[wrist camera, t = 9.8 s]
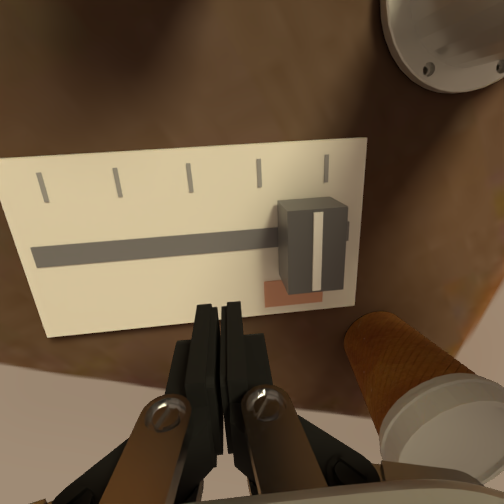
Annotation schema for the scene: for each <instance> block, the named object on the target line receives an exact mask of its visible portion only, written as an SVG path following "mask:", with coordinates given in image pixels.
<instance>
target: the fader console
mask: <svg viewBox="0 0 504 504" xmlns="http://www.w3.org/2000/svg"><path fill="white" fill-rule="evenodd" d="M366 149H367V138H365V137H355V138H338V139H321V140H304V141H287V142H270V143H253V144H236V145H218V146H201V147H184V148H167V149H150V150H133V151H116V152H99V153H81V154H64V155H47V156H30V157H13V158H0V201H1V204H2V207H3V210H4V213H5V216H6V218H7V221H8V224H9V227H10V230H11V233H12V236H13V239H14V242H15V245H16V248H17V251H18V253H19V256H20V259H21V262H22V265H23V268H24V271H25V274H26V277H27V280H28V283H29V286H30V288H31V291H32V294H33V297H34V300H35V303H36V306H37V309H38V312H39V315H40V318H41V321H42V323H43V326H44V329H45V332H46V335H47V338H49V337H58V336H68V335H77V334H87V333H97V332H106V331H116V330H125V329H135V328H145V327H154V326H164V325H173V324H183V323H192V322H194V320H195V314H196V308H197V305H199V304H212V307H217V309H218V318H219V320H221V307H222V306H227V302H235V301H241V311H242V317H250V316H259V315H269V314H279V313H288V312H298V311H307V310H317V309H327V308H336V307H346V306H355V294H356V281H357V268H358V254H359V241H360V228H361V215H362V202H363V189H364V175H365V162H366ZM317 197H332V198H334V199H335V200H337V201H339V202H341V203H343V204H344V205H346V206H348V221H347V237H346V254H345V271H344V288H343V289H342V290H332V291H322V292H312V293H302V294H292V295H288V293H287V291H286V289H285V286H284V284H283V282H282V280H281V278H280V275H279V255H278V211H277V200H290V199H303V198H317Z"/></svg>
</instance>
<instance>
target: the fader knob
mask: <svg viewBox="0 0 504 504" xmlns="http://www.w3.org/2000/svg"><path fill="white" fill-rule="evenodd" d="M277 211H278V255H279V275H280V278H281V280H282V282H283V284H284V286H285V289H286V291H287V293H288V295H292V294H302V293H312V292H322V291H332V290H342V289H343V288H344V271H345V254H346V237H347V221H348V206H346V205H344V204H343V203H341V202H339V201H337V200H335V199H334V198H332V197H317V198H303V199H290V200H277Z"/></svg>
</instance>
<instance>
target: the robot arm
mask: <svg viewBox="0 0 504 504" xmlns="http://www.w3.org/2000/svg"><path fill="white" fill-rule="evenodd" d="M380 10H381V22H382V27H383V32H384V37H385V40H386V43H387V45H388V48H389V51H390V53H391V55H392V57H393V59H394V60H395V62H396V63H397V65H398V66H399V68H400V70H401V71H402V72H403V73H404V74H405V75H406V76H407V77H408V78H409V79H410V80H411V81H413V82H415V83H416V84H418V85H420V86H421V87H423V88H425V89H428V90H431V91H434V92H437V93H449V94H455V93H462V92H469V91H473V90H477V89H480V88H484V87H486V86H488V85H490V84H493V83H495V82H497V81H499V80H501V79H502V78H503V77H504V0H380ZM423 70H424V73H423ZM223 413H224V422H225V430H226V439H227V448H228V454H231V453H233V455H234V465H235V467H236V468H238V469H239V470H240V471H241V472H242V473H243V474H244V475H246V476H247V481H248V487H249V492H250V496H244V497H235V498H227V499H218V500H209V501H201V498H202V493H203V484H204V481H203V479H204V478H205V477H206V476H207V474H208V473H209V472H210V471H211V470H212V469H213V468H214V467H217V466H216V465H217V455H223ZM30 504H504V492H502V491H498V490H495V489H491V488H488V487H485V486H484V485H483V484H481V483H480V482H479V481H478V480H477V479H476V478H474V477H472V476H471V475H469V474H467V473H465V472H462V471H458V470H455V469H447V468H439V467H431V466H423V465H415V464H407V463H399V462H391V461H383V460H382V461H381V464H372V463H371V462H370V461H369V460H367V459H366V458H365V457H364V456H362V455H361V454H359V453H358V452H356V451H355V450H353V449H351V448H350V447H348V446H347V445H345V444H344V443H342V442H340V441H339V440H337V439H336V438H334V437H332V436H331V435H329V434H328V433H326V432H324V431H323V430H321V429H320V428H318V427H316V426H315V425H313V424H312V423H310V422H309V421H307V420H305V419H304V418H302V417H301V416H299V415H297V413H296V411H295V408H294V406H293V404H292V401H291V399H290V397H289V396H288V394H287V393H286V392H285V391H284V390H283V389H281V388H279V387H277V386H275V385H273V383H272V377H271V372H270V366H269V361H268V355H267V350H266V344H265V338H264V334H263V333H260V334H248V335H243V323H242V311H241V301H235V302H227V306H222V307H221V336H220V327H219V318H218V309H217V307H212V304H199V305H197V308H196V314H195V320H194V327H193V333H192V339H191V340H181V341H177V343H176V346H175V351H174V355H173V360H172V364H171V369H170V373H169V378H168V382H167V386H166V391H165V395H162V396H159V397H157V398H155V399H154V400H152V401H150V402H149V403H148V404H147V405H146V406H145V407H144V409H143V410H142V412H141V414H140V416H139V418H138V420H137V422H136V424H135V426H134V429H133V431H132V433H131V435H130V437H129V438H128V439H127V440H125V441H124V442H123V443H122V444H121V445H119V446H118V447H117V448H115V449H114V450H113V451H112V452H110V453H109V454H108V455H107V456H105V457H104V458H103V459H102V460H100V461H99V462H98V463H97V464H95V465H94V466H93V467H91V468H90V469H89V470H88V471H86V472H85V473H84V474H83V475H82V476H80V477H79V478H78V479H76V480H75V481H74V482H73V483H71V484H70V485H69V486H68V487H66V488H65V489H64V490H63V491H62V492H61V493H60V494H59V495H58V496H57V497H56V498H55V499H54V501H51V502H48V503H47V502H46V499H43V500H39V501H36V502H33V503H30Z"/></svg>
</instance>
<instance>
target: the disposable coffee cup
mask: <svg viewBox="0 0 504 504" xmlns="http://www.w3.org/2000/svg"><path fill="white" fill-rule="evenodd" d="M344 349H345V352H346V354H347V356H348V359H349V361H350V364H351V367H352V369H353V372H354V374H355V377H356V380H357V382H358V384H359V387H360V389H361V392H362V394H363V397H364V400H365V402H366V405H367V407H368V410H369V413H370V415H371V418H372V420H373V422H374V425H375V428H376V430H377V433H378V435H379V441H380V452H381V456H382V459H383V461H391V462H399V463H407V464H415V465H423V466H431V467H439V468H447V469H455V470H458V471H462V472H465V473H467V474H469V475H471V476H472V477H474V478H476V479H477V480H478V481H479V482H480V483H481V484H483V485H484V484H485V483H487V482H488V481H490V480H492V479H493V478H495V477H496V476H498V475H499V474H500V473H501V472H502V471H504V388H503V387H502V386H501V385H499V384H498V383H496V382H493V381H491V380H489V379H486V378H484V377H481V376H478V375H475V373H474V372H473V371H471V370H470V369H468V368H467V367H466V366H464V365H463V364H461V363H460V362H459V361H457V360H456V359H454V357H452V356H451V355H449V354H448V353H447V352H445V351H444V350H442V349H441V348H440V347H438V346H436V344H434V343H433V342H430V340H429V339H427V338H425V336H423V335H422V334H420V333H419V332H418V331H415V329H414V328H412V327H411V326H410V325H408V324H406V323H405V322H404V321H402V320H401V319H400V318H399V317H397V316H396V315H394V314H392V313H389V312H384V311H379V312H372V313H369V314H366V315H364V316H362V317H361V318H359V319H358V320H356V321H355V322H354V323H353V324H352V325H351V327H350V328H349V329H348V331H347V333H346V335H345V338H344Z"/></svg>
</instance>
